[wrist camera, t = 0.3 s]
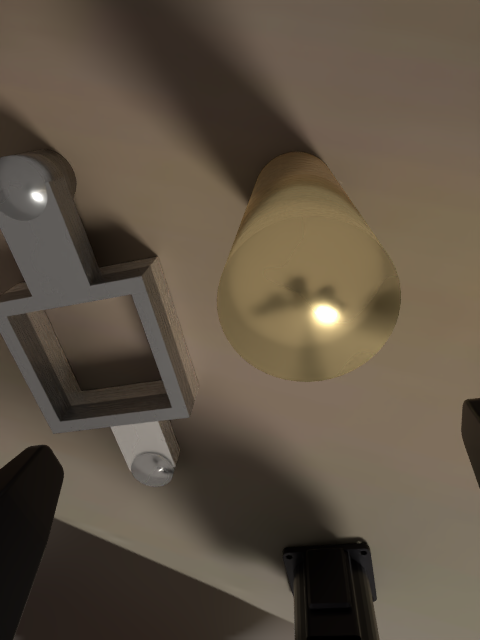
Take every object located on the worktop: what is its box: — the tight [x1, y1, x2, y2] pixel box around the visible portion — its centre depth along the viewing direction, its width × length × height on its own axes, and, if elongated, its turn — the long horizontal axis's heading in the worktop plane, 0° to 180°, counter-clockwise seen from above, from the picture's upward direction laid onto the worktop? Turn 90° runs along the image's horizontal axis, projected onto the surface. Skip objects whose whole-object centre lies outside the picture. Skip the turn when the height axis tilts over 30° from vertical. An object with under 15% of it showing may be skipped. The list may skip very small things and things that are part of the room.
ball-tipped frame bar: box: [0, 150, 199, 487], centre depth 24 cm, size 21×9×3 cm, turn 13°
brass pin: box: [217, 152, 401, 382], centre depth 15 cm, size 4×4×13 cm
